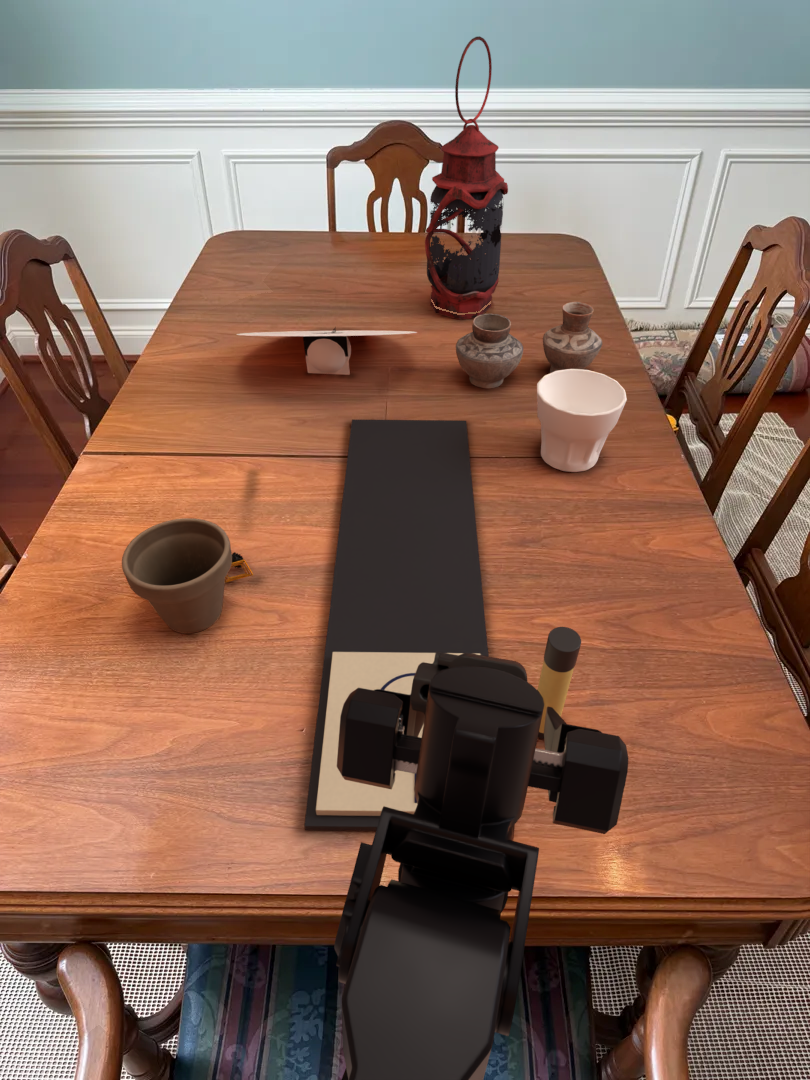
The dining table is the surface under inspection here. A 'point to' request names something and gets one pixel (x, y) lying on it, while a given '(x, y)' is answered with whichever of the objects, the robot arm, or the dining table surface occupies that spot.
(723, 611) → the dining table surface
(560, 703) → the disc
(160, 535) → the flower pot
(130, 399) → the dining table surface
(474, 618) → the long black board
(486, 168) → the lantern
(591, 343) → the pottery
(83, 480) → the dining table surface
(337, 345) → the cake stand
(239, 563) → the golden diamond frame ornament
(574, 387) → the cup
